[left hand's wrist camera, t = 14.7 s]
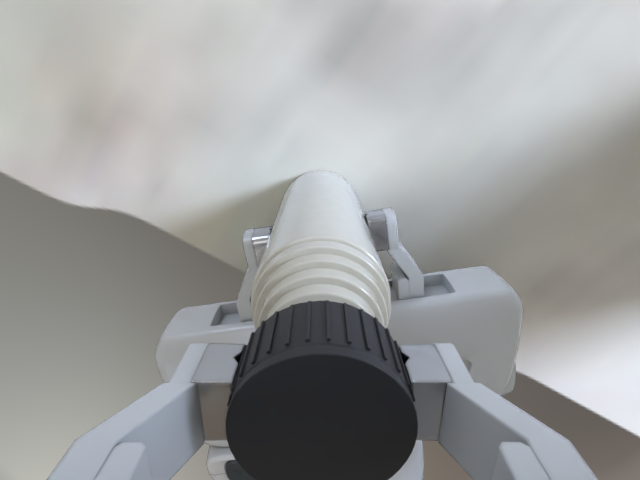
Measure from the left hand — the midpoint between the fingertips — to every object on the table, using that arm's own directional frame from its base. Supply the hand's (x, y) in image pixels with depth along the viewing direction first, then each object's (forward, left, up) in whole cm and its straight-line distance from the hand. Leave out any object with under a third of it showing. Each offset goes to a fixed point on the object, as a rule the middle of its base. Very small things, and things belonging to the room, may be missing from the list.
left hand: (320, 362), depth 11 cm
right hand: (-1, +1, -10) cm, 10 cm away
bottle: (0, 0, -16) cm, 16 cm away
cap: (0, 0, +2) cm, 2 cm away
